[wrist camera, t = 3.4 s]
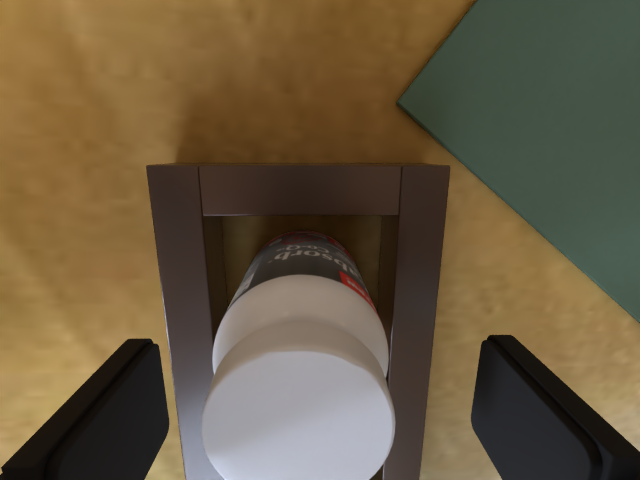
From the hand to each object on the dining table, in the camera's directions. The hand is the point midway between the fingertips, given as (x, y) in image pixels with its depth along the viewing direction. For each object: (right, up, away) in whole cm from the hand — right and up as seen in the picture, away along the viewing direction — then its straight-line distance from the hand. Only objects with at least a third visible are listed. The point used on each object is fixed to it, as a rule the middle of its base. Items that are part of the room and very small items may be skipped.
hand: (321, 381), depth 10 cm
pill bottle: (-1, +2, +8) cm, 8 cm away
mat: (+15, +9, +7) cm, 19 cm away
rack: (-1, -3, +9) cm, 10 cm away
